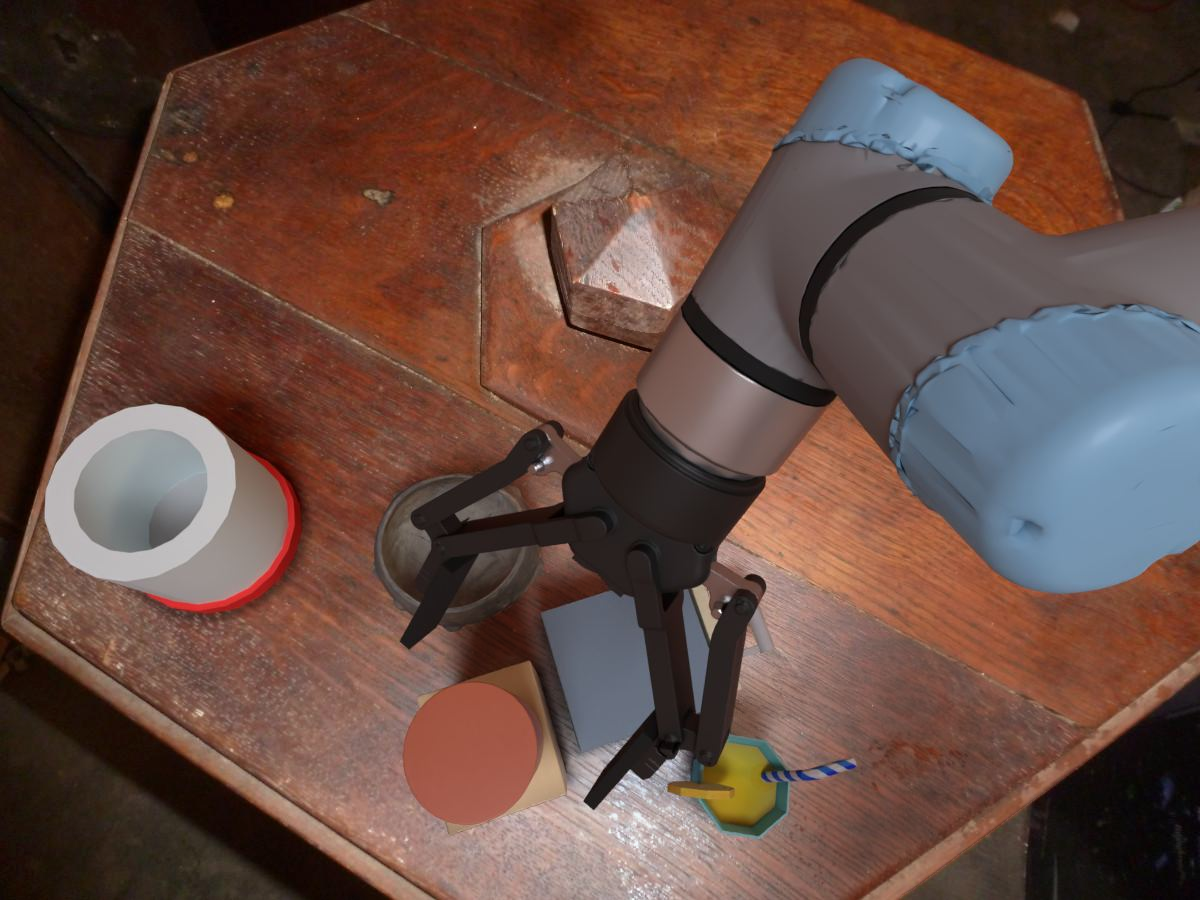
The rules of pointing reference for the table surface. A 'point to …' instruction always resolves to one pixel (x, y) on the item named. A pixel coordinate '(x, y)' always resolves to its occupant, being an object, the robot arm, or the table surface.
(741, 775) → the cup
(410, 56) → the table surface
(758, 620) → the drawer
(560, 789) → the stand
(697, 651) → the cabinet
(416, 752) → the tea tin
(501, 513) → the bowl
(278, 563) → the container
